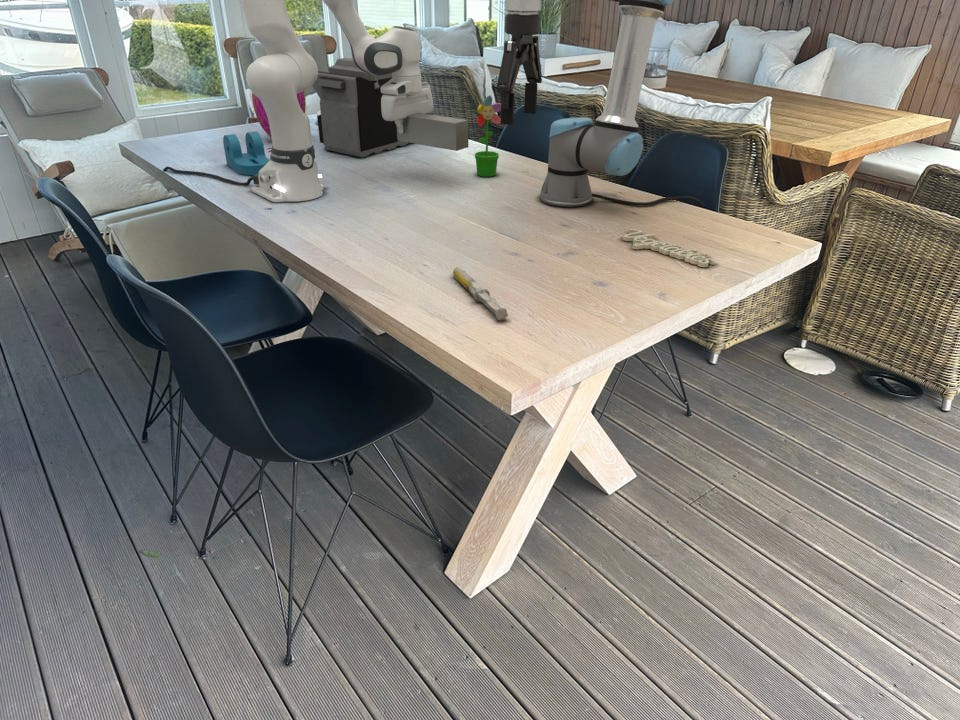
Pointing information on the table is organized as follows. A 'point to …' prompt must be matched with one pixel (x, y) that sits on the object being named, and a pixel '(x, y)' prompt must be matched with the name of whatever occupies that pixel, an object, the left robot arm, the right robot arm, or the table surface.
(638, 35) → the right robot arm
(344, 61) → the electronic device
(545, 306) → the table surface
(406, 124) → the bar
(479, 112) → the potted flower
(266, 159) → the camera mount
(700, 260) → the decorative sign
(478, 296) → the syringe
